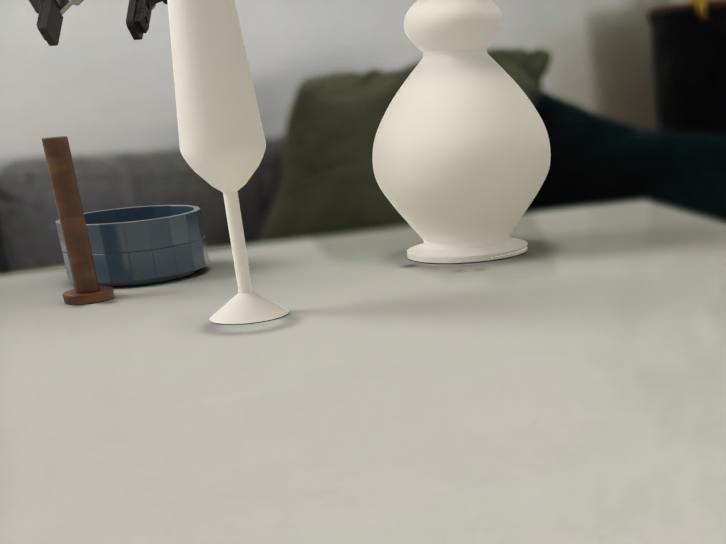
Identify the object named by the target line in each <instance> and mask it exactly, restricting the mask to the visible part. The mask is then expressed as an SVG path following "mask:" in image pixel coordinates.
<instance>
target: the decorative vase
mask: <svg viewBox="0 0 726 544" xmlns="http://www.w3.org/2000/svg"><path fill="white" fill-rule="evenodd" d="M503 19H504V18H503V13H502V11H501V9H500V7H499V6H498V5H497V3H495V2H494V0H415V1H414V3H413V4H412V5H411V6H410V7H409V8H408V10H407V12H406V13H405V15H404V19H403V24H402V25H403V31H404V34H405V36H406V38H407V39H408V40H409V41H410V42H411V44H413V45H414V47H416V48H417V49H418V50H419V51H420V52H422V58H421V60H419V62H418V63H417V65H416V66H415V67H414V68H413V69H412V71H411V72H410V74H409V75H408V77H407V78H406V79H405V80H404V82H403V83H402V84H401V86H400V87H399V89H398V90H397V92H396V93H395V95H394V96H393V98H391V100H390V103H389V105H388V106H387V108H386V110H385V112H384V115H383V116H382V118H381V120H380V122H379V125H378V127H377V130H376V132H375V136H374V140H373V144H372V154H371V155H372V160H371V161H372V162H371V163H372V171H373V174H374V179H375V182H376V183H377V186H378V187H379V189H380V191H381V192H382V194H383V195H384V196H385V197H386V199H387V200H388V201H389V203H390V204H391V206H392V207H393V208H394V209H395V210H396V212H397V213H398V214H399V215H400V216H401V217H402V219H403V220H404V221H405V222H407V224H408V225H409V226H410V227H411V229H412V230H413V231H414V232H415V233H416V234H417V235H418V236H419V237H420V238H421V240H422V241H423V242H422V243H418V244H414V245H413V246H410V247H408V248H407V250H406V257H407V259H408V260H410V261H414V262H418V263H426V264H427V263H428V264H464V263H465V264H467V263H477V262H478V263H479V262H488V261H495V260H502V259H507V258H511V257H515V256H519V255H521V254H524V253H526V252H527V251H528V249H529V244H528V241H526V240H524V239H521V238H518V237H511V235H510V234H511V233H512V232H513V231H514V230H515V228H516V226H517V225H518V223H519V222H520V221H521V219H522V218H523V216H524V215H525V213H526V212H527V210H528V209H529V207H530V206H531V204H532V203H533V201H534V199H535V198H536V197H537V195H538V193H539V191H540V190H541V189H542V186H543V185H544V182H545V181H546V179H547V176H548V174H549V171H550V168H551V157H552V153H551V151H552V150H551V143H550V137H549V133H548V130H547V128H546V125H545V123H544V120H543V119H542V117H541V115H540V113H539V112H538V110H537V109H536V107H535V105H534V103H533V102H532V100H530V98H529V97H528V95H527V94H526V93H525V91H524V90H523V89H522V88H521V86H520V85H519V84H518V83H517V82H516V81H515V80H514V79H513V77H512V76H511V75H509V73H508V72H506V70H505V69H504V68H503V67H502V66H501V65H500V64H499V63H498V62H497V61H496V60H495V59H494V58H493V57H492V56H491V55H490V53H488V48H489V46H490V45H491V44H492V43H493V42H494V41H495V39H496V38H497V37H498V36H499V34H500V32H501V30H502V28H503V24H504V20H503ZM527 245H528V247H527ZM525 247H527V249H525V250H523V251H521V252H518V253H514V254H510V255H505V254H509V253H513V252H516V251H519V250H522V249H523V248H525ZM500 255H505V256H500ZM495 256H500V257H495ZM491 257H493V258H491ZM484 258H485V259H484Z"/></svg>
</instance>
